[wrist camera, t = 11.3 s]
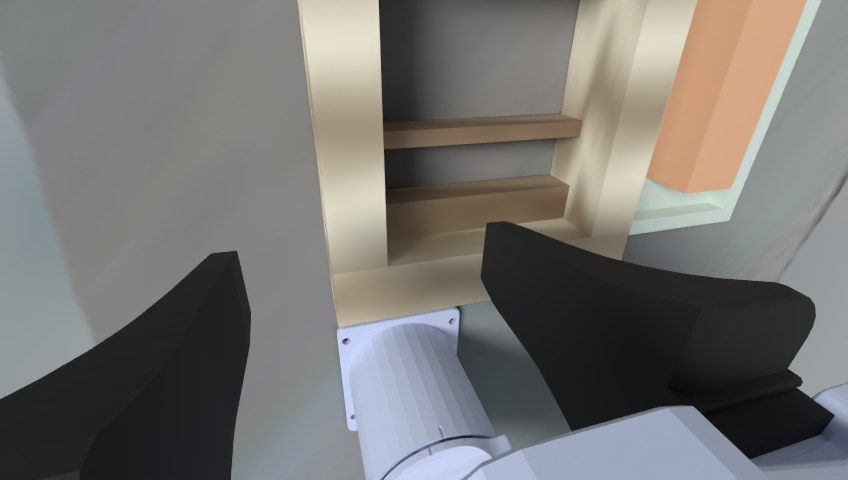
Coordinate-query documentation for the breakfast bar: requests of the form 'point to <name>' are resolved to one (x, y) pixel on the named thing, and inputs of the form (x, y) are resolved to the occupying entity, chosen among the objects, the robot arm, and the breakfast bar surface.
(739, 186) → the tray
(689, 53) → the slab
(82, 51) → the breakfast bar surface
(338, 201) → the block
